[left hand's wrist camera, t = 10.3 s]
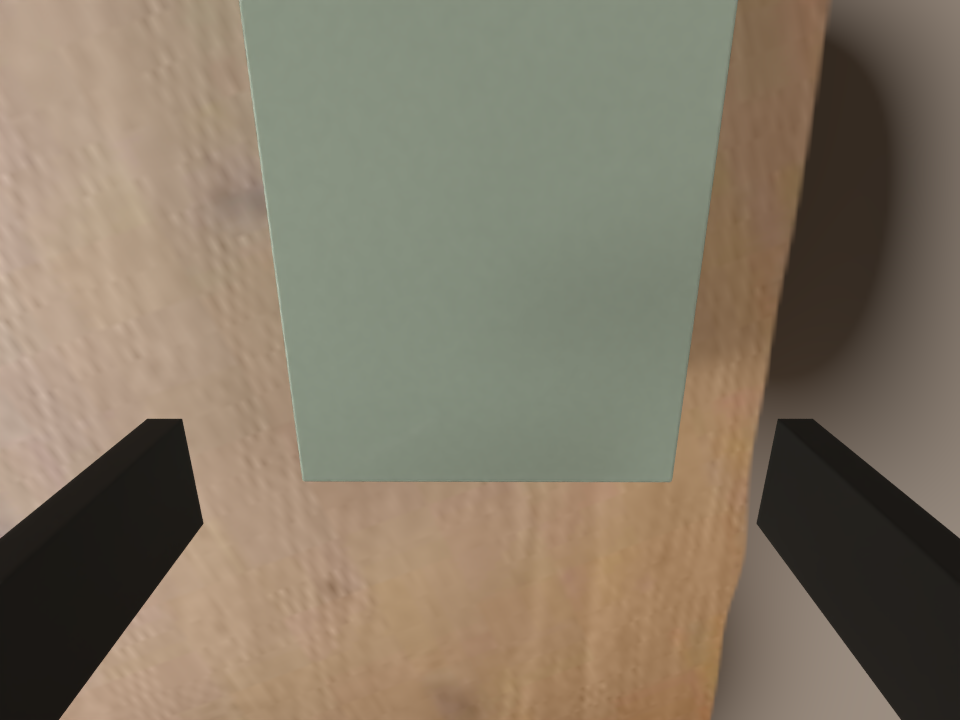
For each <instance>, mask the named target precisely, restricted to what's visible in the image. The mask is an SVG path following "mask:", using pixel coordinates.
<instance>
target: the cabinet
mask: <svg viewBox="0 0 960 720" xmlns="http://www.w3.org/2000/svg"><path fill="white" fill-rule="evenodd" d="M737 3H738V0H239V4H240V12H241V19H242V27H243V34H244V42H245V50H246V57H247V65H248V72H249V80H250V87H251V95H252V102H253V110H254V117H255V125H256V133H257V140H258V148H259V155H260V163H261V170H262V178H263V185H264V193H265V200H266V208H267V216H268V223H269V231H270V238H271V246H272V253H273V261H274V268H275V276H276V283H277V291H278V298H279V306H280V314H281V321H282V329H283V336H284V344H285V351H286V359H287V366H288V374H289V381H290V389H291V397H292V404H293V412H294V419H295V427H296V434H297V442H298V449H299V457H300V464H301V472H302V479H303V481H370V482H671V481H672V477H673V469H674V462H675V455H676V447H677V440H678V433H679V426H680V418H681V411H682V404H683V396H684V389H685V382H686V375H687V367H688V360H689V353H690V345H691V338H692V331H693V324H694V316H695V309H696V302H697V294H698V287H699V280H700V272H701V265H702V258H703V251H704V243H705V236H706V229H707V221H708V214H709V207H710V200H711V192H712V185H713V178H714V170H715V163H716V156H717V149H718V141H719V134H720V127H721V119H722V112H723V105H724V97H725V90H726V83H727V76H728V68H729V61H730V54H731V46H732V39H733V32H734V25H735V17H736V10H737Z"/></svg>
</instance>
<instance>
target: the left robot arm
mask: <svg viewBox="0 0 960 720" xmlns="http://www.w3.org/2000/svg"><path fill="white" fill-rule="evenodd" d="M202 525H203V519H202V514H201V509H200V504H199V499H198V495H197V490H196V485H195V480H194V475H193V470H192V465H191V460H190V455H189V450H188V445H187V441H186V436H185V431H184V426H183V421H182V419H147V420H145V421H144V422H143V423H142V424H140V425H139V426H138V427H137V428H136V429H134V430H133V431H132V432H131V433H129V434H128V435H127V436H126V437H124V438H123V439H122V440H121V441H120V442H118V443H117V444H116V445H115V446H113V447H112V448H111V449H110V450H108V451H107V452H106V453H105V454H104V455H102V456H101V457H100V458H99V459H97V460H96V461H95V462H94V463H92V464H91V465H90V466H89V467H88V468H86V469H85V470H84V471H83V472H81V473H80V474H79V475H78V476H77V477H75V478H74V479H73V480H72V481H70V482H69V483H68V484H67V485H65V486H64V487H63V488H62V489H61V490H59V491H58V492H57V493H56V494H54V495H53V496H52V497H51V498H49V499H48V500H47V501H46V502H45V503H43V504H42V505H41V506H40V507H38V508H37V509H36V510H35V511H33V512H32V513H31V514H30V515H29V516H27V517H26V518H25V519H24V520H22V521H21V522H20V523H19V524H18V525H16V526H15V527H14V528H13V529H11V530H10V531H9V532H8V533H6V534H5V535H4V536H3V537H2V538H0V720H59V719H60V717H61V716H62V715H63V713H64V712H65V711H66V709H67V708H68V707H69V705H70V704H71V703H72V701H73V700H74V698H75V697H76V696H77V694H78V693H79V692H80V690H81V689H82V688H83V686H84V685H85V684H86V682H87V681H88V679H89V678H90V677H91V675H92V674H93V673H94V671H95V670H96V669H97V667H98V666H99V665H100V663H101V662H102V660H103V659H104V658H105V656H106V655H107V654H108V652H109V651H110V650H111V648H112V647H113V646H114V644H115V643H116V641H117V640H118V639H119V637H120V636H121V635H122V633H123V632H124V631H125V629H126V628H127V627H128V625H129V624H130V622H131V621H132V620H133V618H134V617H135V616H136V614H137V613H138V612H139V610H140V609H141V608H142V606H143V605H144V603H145V602H146V601H147V599H148V598H149V597H150V595H151V594H152V593H153V591H154V590H155V589H156V587H157V586H158V584H159V583H160V582H161V580H162V579H163V578H164V576H165V575H166V574H167V572H168V571H169V570H170V568H171V567H172V565H173V564H174V563H175V561H176V560H177V559H178V557H179V556H180V555H181V553H182V552H183V551H184V549H185V548H186V546H187V545H188V544H189V542H190V541H191V540H192V538H193V537H194V536H195V534H196V533H197V532H198V530H199V529H200V528H201V526H202ZM757 525H758V526H759V527H760V529H761V530H762V532H763V533H764V534H765V536H766V537H767V538H768V540H769V541H770V542H771V544H772V545H773V547H774V548H775V549H776V551H777V552H778V553H779V555H780V556H781V557H782V559H783V560H784V561H785V563H786V564H787V565H788V567H789V568H790V570H791V571H792V572H793V574H794V575H795V576H796V578H797V579H798V580H799V582H800V583H801V584H802V586H803V587H804V588H805V590H806V591H807V593H808V594H809V595H810V597H811V598H812V599H813V601H814V602H815V603H816V605H817V606H818V608H819V609H820V610H821V612H822V613H823V614H824V616H825V617H826V618H827V620H828V621H829V622H830V624H831V625H832V627H833V628H834V629H835V631H836V632H837V633H838V635H839V636H840V637H841V639H842V640H843V641H844V643H845V644H846V645H847V647H848V648H849V650H850V651H851V652H852V654H853V655H854V656H855V658H856V659H857V660H858V662H859V663H860V664H861V666H862V667H863V669H864V670H865V671H866V673H867V674H868V675H869V677H870V678H871V679H872V681H873V682H874V683H875V685H876V686H877V688H878V689H879V690H880V692H881V693H882V694H883V696H884V697H885V698H886V700H887V701H888V702H889V704H890V705H891V707H892V708H893V709H894V711H895V712H896V713H897V715H898V716H899V717H900V719H901V720H960V538H958V537H957V536H956V535H955V534H953V533H952V532H951V531H950V530H949V529H947V528H946V527H945V526H944V525H942V524H941V523H940V522H939V521H937V520H936V519H935V518H934V517H933V516H931V515H930V514H929V513H928V512H926V511H925V510H924V509H923V508H922V507H920V506H919V505H918V504H917V503H915V502H914V501H913V500H912V499H911V498H909V497H908V496H907V495H906V494H904V493H903V492H902V491H901V490H899V489H898V488H897V487H896V486H895V485H893V484H892V483H891V482H890V481H888V480H887V479H886V478H885V477H883V476H882V475H881V474H880V473H879V472H877V471H876V470H875V469H874V468H872V467H871V466H870V465H869V464H867V463H866V462H865V461H864V460H863V459H861V458H860V457H859V456H858V455H856V454H855V453H854V452H853V451H852V450H850V449H849V448H848V447H847V446H845V445H844V444H843V443H842V442H840V441H839V440H838V439H837V438H836V437H834V436H833V435H832V434H831V433H829V432H828V431H827V430H826V429H824V428H823V427H822V426H821V425H820V424H818V423H817V422H816V421H815V420H813V419H778V421H777V426H776V431H775V436H774V441H773V446H772V451H771V456H770V460H769V465H768V470H767V475H766V480H765V485H764V490H763V495H762V500H761V505H760V509H759V514H758V519H757Z"/></svg>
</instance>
